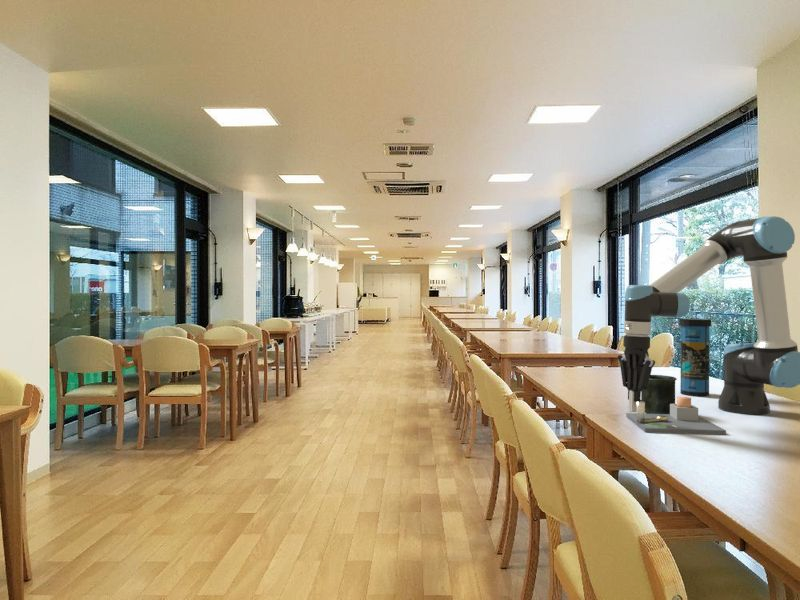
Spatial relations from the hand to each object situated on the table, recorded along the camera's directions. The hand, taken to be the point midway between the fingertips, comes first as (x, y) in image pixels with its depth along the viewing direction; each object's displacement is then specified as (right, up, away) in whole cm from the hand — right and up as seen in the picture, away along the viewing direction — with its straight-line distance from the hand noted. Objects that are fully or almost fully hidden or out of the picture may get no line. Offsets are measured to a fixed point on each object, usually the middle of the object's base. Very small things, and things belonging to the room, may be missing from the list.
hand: (633, 411), depth 169 cm
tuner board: (+12, -4, -1) cm, 12 cm away
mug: (+14, -4, +18) cm, 23 cm away
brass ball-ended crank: (+5, -3, -2) cm, 6 cm away
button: (+17, -1, +3) cm, 18 cm away
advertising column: (+46, -3, +50) cm, 68 cm away
